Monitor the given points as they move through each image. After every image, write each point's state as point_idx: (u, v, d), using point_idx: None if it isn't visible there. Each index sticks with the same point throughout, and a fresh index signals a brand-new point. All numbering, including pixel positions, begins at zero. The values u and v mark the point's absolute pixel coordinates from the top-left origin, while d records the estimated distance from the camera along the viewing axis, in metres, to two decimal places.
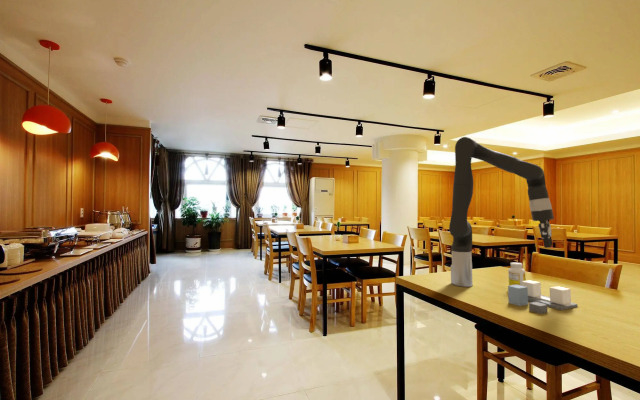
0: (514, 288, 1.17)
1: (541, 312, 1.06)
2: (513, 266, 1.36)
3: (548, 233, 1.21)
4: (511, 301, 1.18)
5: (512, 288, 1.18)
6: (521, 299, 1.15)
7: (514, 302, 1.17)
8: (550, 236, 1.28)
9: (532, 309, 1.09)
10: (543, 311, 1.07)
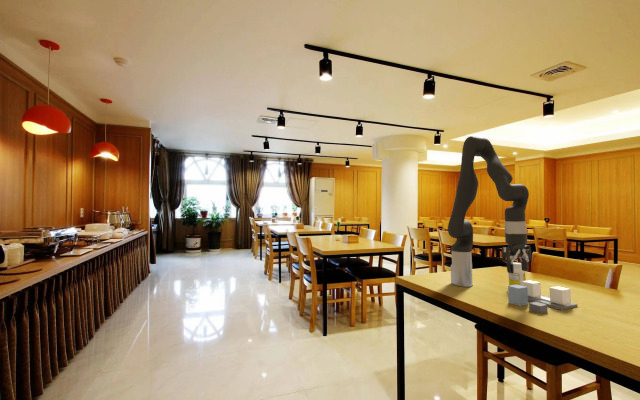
0: (514, 288, 1.17)
1: (541, 312, 1.06)
2: None
3: (512, 258, 1.16)
4: (511, 301, 1.18)
5: (512, 288, 1.18)
6: (521, 299, 1.15)
7: (514, 302, 1.17)
8: (526, 261, 1.19)
9: (532, 309, 1.09)
10: (543, 311, 1.07)
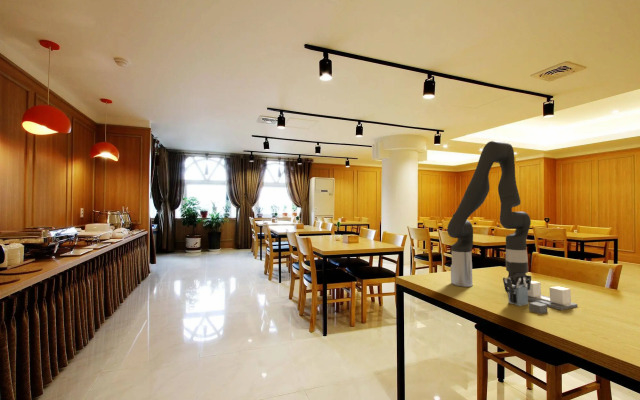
0: None
1: (541, 312, 1.06)
2: None
3: (514, 289, 1.16)
4: None
5: (512, 288, 1.18)
6: (521, 299, 1.15)
7: None
8: None
9: (532, 309, 1.09)
10: (543, 311, 1.07)
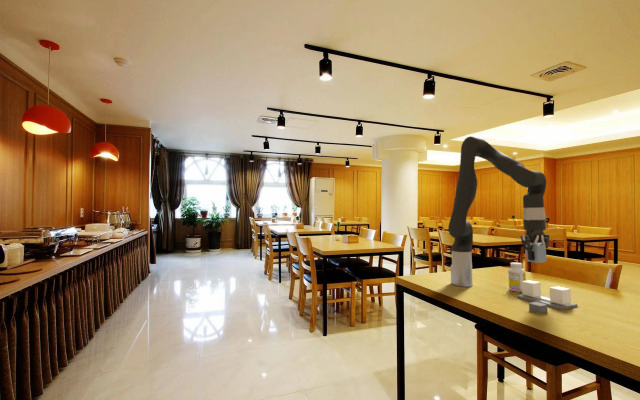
0: None
1: (541, 312, 1.06)
2: (513, 266, 1.36)
3: (532, 246, 1.17)
4: None
5: None
6: (539, 256, 1.16)
7: None
8: None
9: (532, 309, 1.09)
10: (543, 311, 1.07)
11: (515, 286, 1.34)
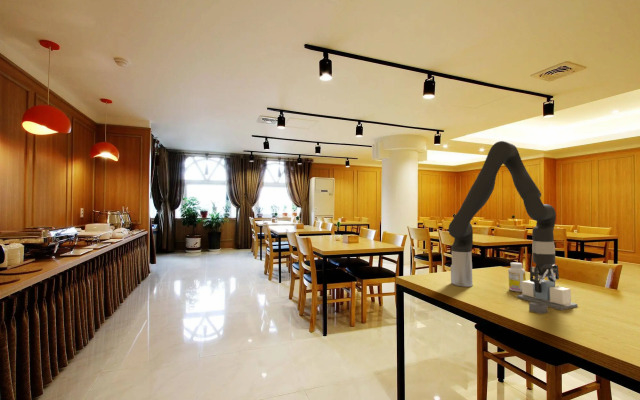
0: (541, 283, 1.18)
1: (541, 312, 1.06)
2: (513, 266, 1.36)
3: (540, 278, 1.17)
4: (538, 296, 1.19)
5: None
6: (549, 293, 1.17)
7: (541, 297, 1.18)
8: (554, 281, 1.20)
9: (532, 309, 1.09)
10: (543, 311, 1.07)
11: (515, 286, 1.34)
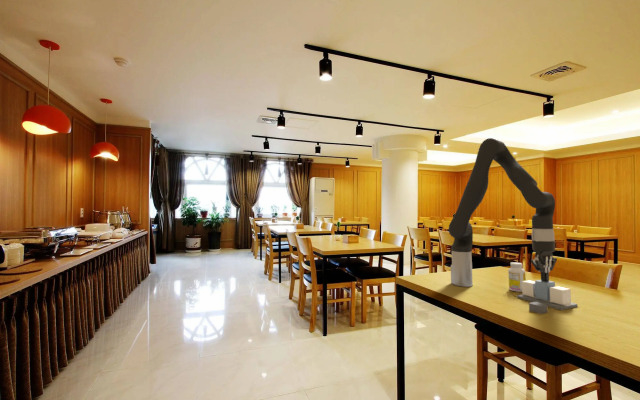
0: (541, 283, 1.18)
1: (541, 312, 1.06)
2: (513, 266, 1.36)
3: (544, 268, 1.18)
4: (538, 296, 1.19)
5: (539, 283, 1.19)
6: (549, 293, 1.17)
7: (541, 297, 1.18)
8: (547, 271, 1.19)
9: (532, 309, 1.09)
10: (543, 311, 1.07)
11: (515, 286, 1.34)
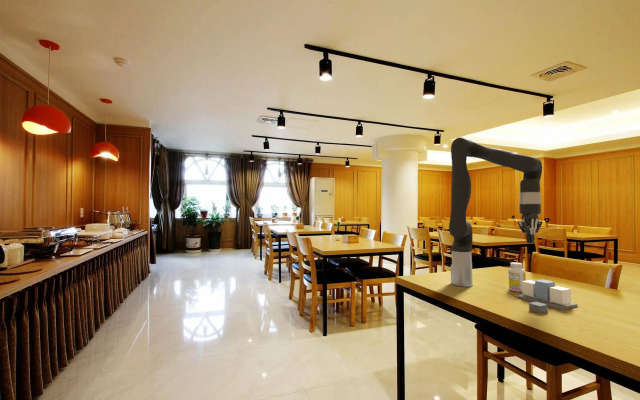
0: (541, 283, 1.18)
1: (541, 312, 1.06)
2: (513, 266, 1.36)
3: (530, 230, 1.23)
4: (538, 296, 1.19)
5: (539, 283, 1.19)
6: (549, 293, 1.17)
7: (541, 297, 1.18)
8: None
9: (532, 309, 1.09)
10: (543, 311, 1.07)
11: (515, 286, 1.34)
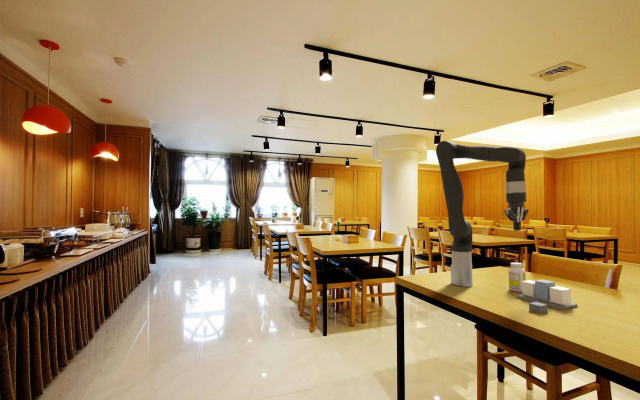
0: (541, 283, 1.18)
1: (541, 312, 1.06)
2: (513, 266, 1.36)
3: (516, 218, 1.28)
4: (538, 296, 1.19)
5: (539, 283, 1.19)
6: (549, 293, 1.17)
7: (541, 297, 1.18)
8: (519, 221, 1.28)
9: (532, 309, 1.09)
10: (543, 311, 1.07)
11: (515, 286, 1.34)
